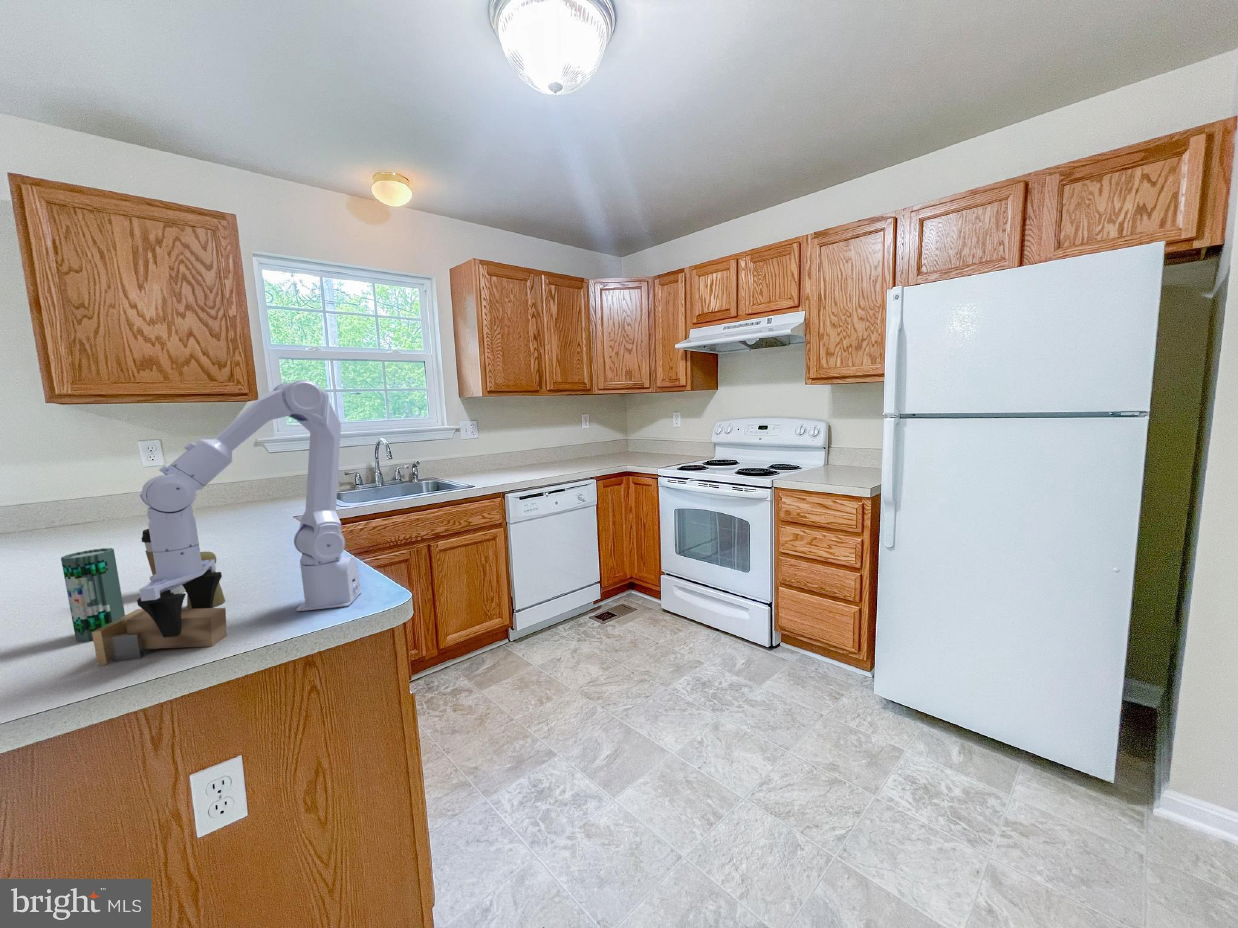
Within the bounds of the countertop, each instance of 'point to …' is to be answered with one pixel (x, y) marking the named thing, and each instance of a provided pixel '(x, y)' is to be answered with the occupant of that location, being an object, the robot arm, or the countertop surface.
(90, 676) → the countertop surface
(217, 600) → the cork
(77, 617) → the can
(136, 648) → the bracket
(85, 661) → the countertop surface
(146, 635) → the tan rectangular block
